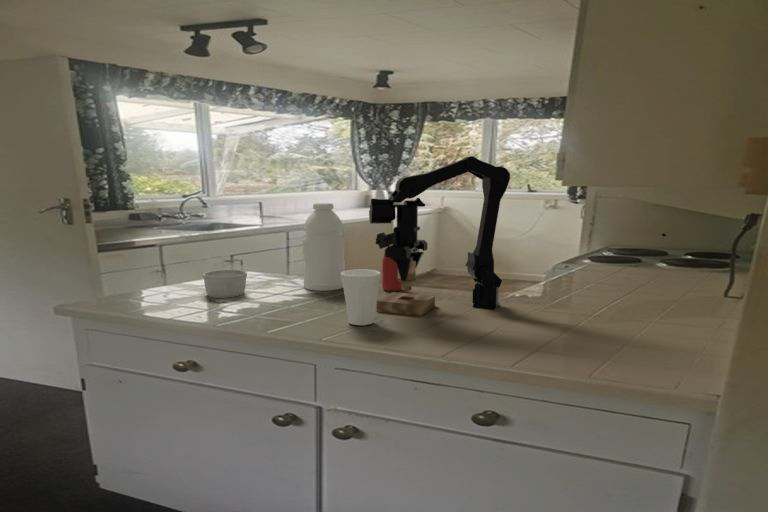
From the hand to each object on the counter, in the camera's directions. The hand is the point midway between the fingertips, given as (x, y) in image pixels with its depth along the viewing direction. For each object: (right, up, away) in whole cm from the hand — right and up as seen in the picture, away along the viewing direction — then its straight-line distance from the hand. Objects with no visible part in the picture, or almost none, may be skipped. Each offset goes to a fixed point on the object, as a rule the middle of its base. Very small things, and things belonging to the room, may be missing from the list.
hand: (406, 279), depth 147 cm
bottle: (-26, -4, +31) cm, 41 cm away
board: (0, -8, +1) cm, 9 cm away
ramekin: (-56, -6, +19) cm, 60 cm away
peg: (0, -3, +1) cm, 3 cm away
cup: (-12, -11, -14) cm, 21 cm away
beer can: (-4, -5, +26) cm, 27 cm away
